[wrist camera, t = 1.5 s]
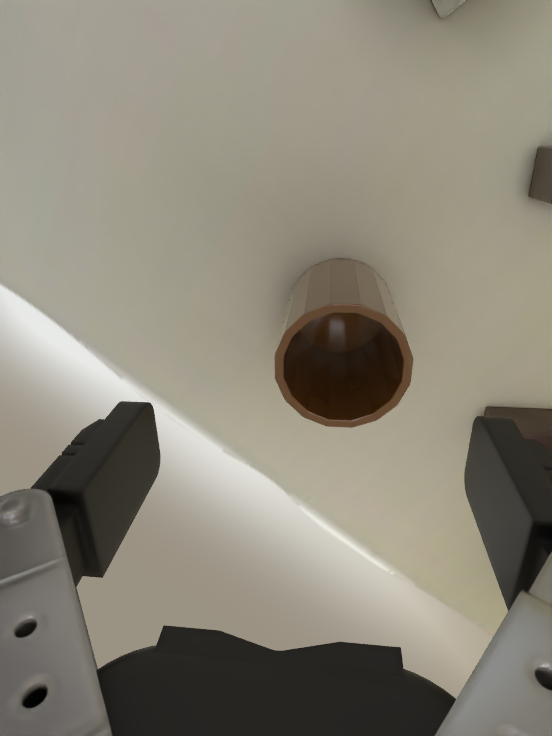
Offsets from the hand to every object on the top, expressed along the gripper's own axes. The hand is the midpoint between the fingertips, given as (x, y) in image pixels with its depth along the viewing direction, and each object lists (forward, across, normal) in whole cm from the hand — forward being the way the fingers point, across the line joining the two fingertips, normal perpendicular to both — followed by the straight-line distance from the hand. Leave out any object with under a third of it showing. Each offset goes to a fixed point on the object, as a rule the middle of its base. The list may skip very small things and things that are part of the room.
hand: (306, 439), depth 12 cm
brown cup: (+18, -1, +2) cm, 18 cm away
